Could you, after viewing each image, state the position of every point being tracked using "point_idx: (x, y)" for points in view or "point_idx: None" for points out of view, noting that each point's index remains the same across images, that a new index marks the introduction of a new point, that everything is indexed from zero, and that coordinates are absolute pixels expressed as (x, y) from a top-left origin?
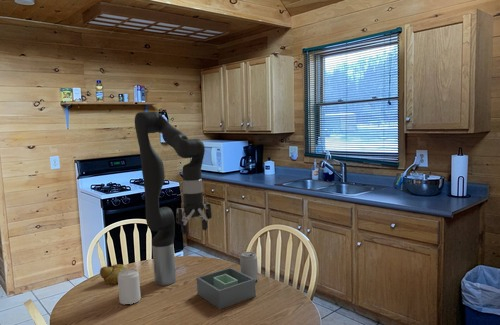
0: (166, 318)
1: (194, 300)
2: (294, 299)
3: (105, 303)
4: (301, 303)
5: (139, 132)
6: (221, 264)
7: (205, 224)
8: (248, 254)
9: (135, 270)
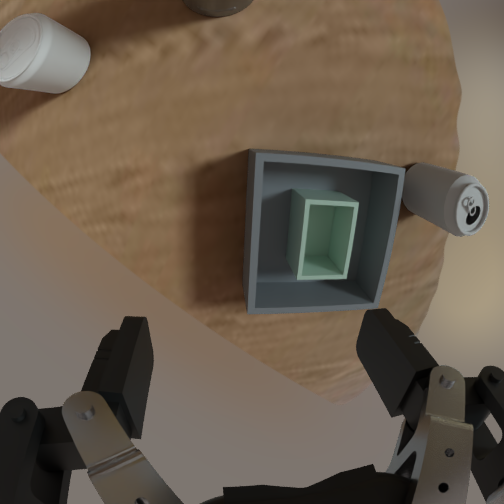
0: (102, 235)
1: (215, 185)
2: None
3: None
4: None
5: None
6: (430, 27)
7: (384, 390)
8: (473, 206)
9: (41, 31)
